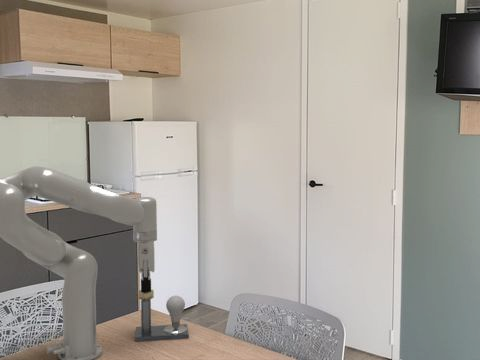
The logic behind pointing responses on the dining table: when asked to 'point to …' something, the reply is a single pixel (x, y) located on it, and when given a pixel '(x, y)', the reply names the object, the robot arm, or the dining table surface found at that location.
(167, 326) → the metal press stand
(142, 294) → the brass knob
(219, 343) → the dining table surface
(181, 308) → the lightbulb
